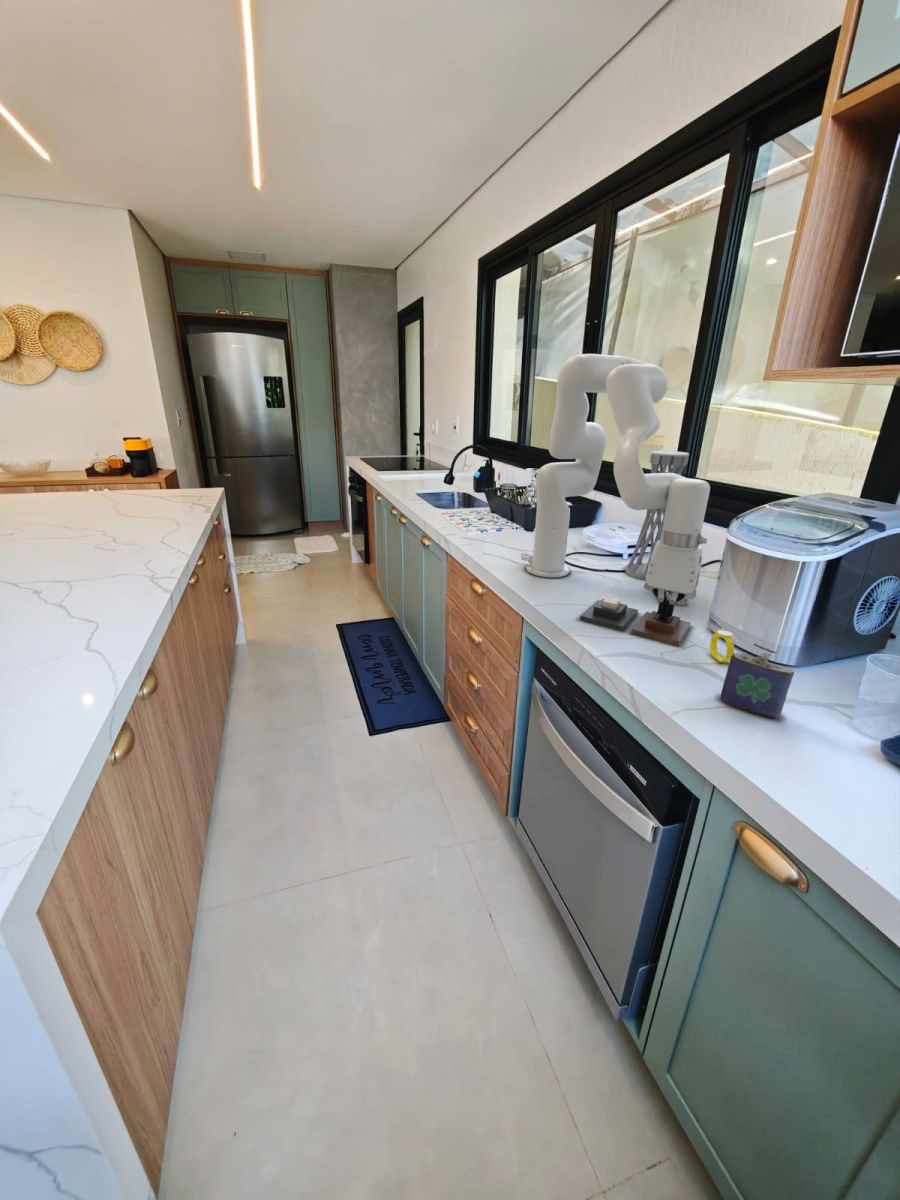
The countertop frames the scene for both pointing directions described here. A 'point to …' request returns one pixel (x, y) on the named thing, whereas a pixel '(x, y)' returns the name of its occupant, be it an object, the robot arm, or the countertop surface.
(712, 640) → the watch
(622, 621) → the black key block
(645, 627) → the walnut key block
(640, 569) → the grey lattice tower
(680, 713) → the countertop surface
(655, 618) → the dark key
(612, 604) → the ivory key
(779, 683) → the flask
